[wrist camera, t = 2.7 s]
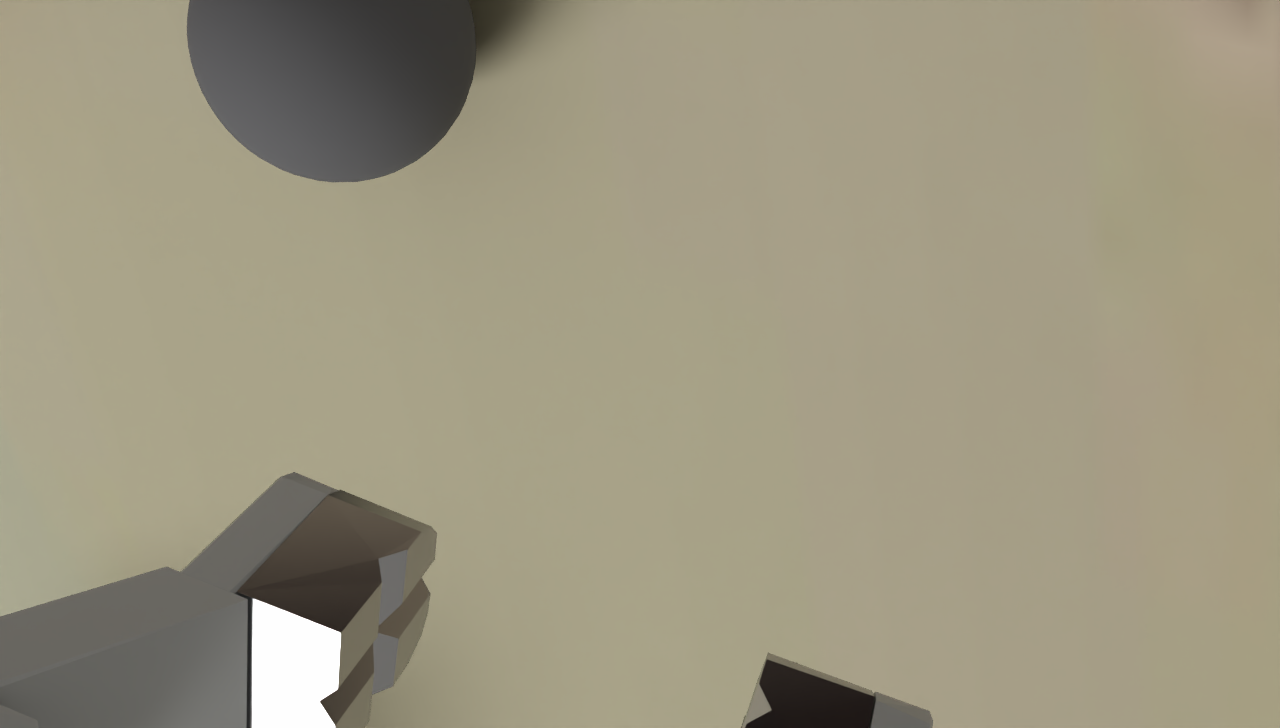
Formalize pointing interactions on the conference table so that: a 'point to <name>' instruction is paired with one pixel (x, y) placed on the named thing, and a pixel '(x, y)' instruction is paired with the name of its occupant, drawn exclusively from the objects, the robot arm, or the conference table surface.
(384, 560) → the robot arm
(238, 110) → the dark gray ball
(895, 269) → the conference table surface
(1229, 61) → the conference table surface
